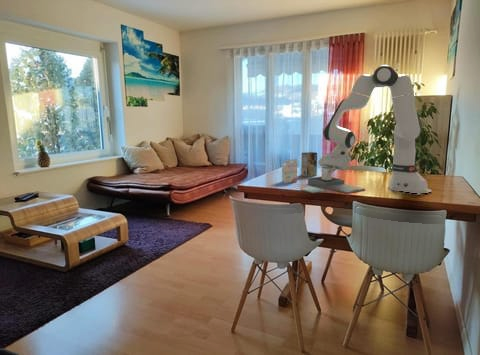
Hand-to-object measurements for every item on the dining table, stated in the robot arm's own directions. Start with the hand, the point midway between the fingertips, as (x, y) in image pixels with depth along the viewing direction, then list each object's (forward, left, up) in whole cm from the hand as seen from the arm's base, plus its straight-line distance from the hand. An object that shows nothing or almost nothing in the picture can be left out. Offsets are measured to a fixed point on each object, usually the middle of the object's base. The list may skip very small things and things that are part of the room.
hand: (326, 172), depth 205 cm
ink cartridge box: (+19, +13, -8) cm, 24 cm away
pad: (-7, +17, -8) cm, 20 cm away
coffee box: (+29, -13, -8) cm, 33 cm away
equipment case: (-7, 0, -8) cm, 11 cm away
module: (0, -1, -4) cm, 4 cm away
